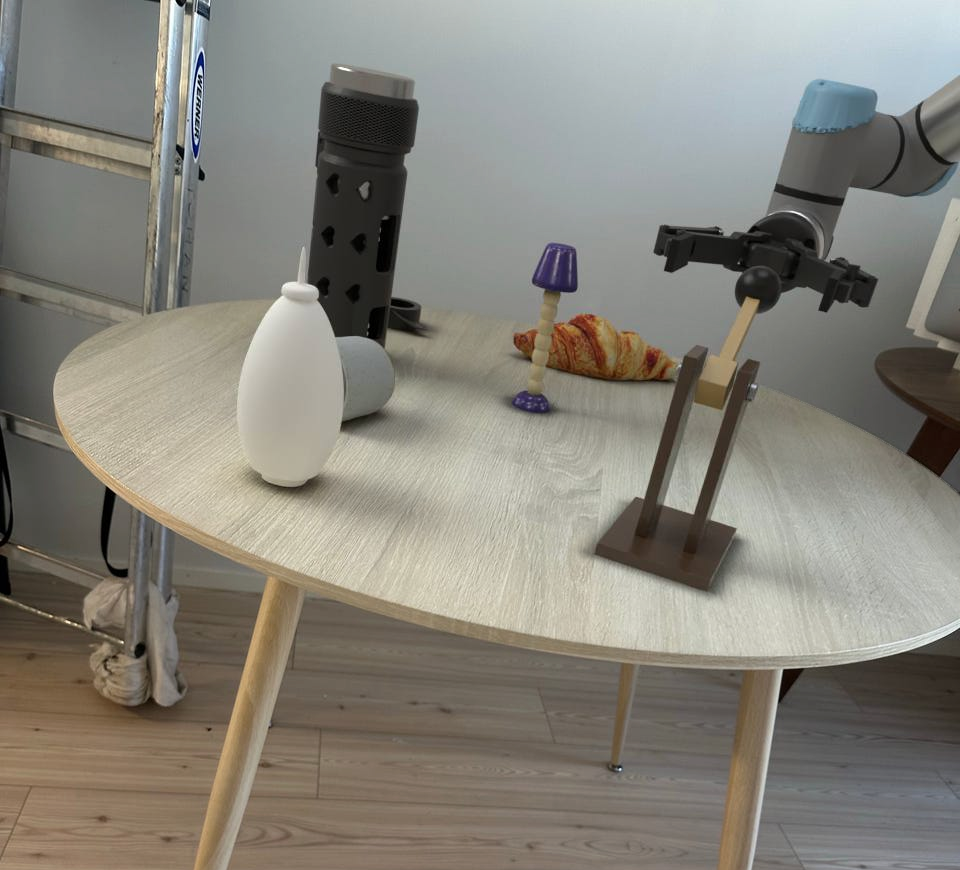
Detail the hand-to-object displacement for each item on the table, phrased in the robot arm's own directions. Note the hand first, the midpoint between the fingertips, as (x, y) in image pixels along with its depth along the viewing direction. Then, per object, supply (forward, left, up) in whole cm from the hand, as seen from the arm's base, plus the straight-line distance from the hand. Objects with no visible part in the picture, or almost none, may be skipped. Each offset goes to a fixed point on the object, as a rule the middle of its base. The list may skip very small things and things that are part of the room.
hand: (748, 275), depth 87 cm
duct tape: (+43, -25, -20) cm, 54 cm away
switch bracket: (-2, +16, -20) cm, 25 cm away
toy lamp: (+19, -9, -20) cm, 29 cm away
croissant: (+18, -30, -20) cm, 40 cm away
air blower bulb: (+27, +27, -20) cm, 43 cm away
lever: (-2, +10, -4) cm, 11 cm away
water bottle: (+41, -7, -20) cm, 46 cm away
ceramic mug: (+33, +10, -20) cm, 40 cm away
